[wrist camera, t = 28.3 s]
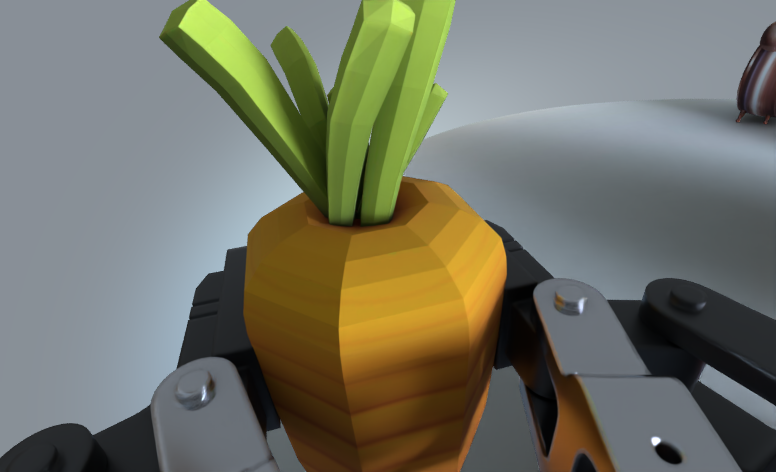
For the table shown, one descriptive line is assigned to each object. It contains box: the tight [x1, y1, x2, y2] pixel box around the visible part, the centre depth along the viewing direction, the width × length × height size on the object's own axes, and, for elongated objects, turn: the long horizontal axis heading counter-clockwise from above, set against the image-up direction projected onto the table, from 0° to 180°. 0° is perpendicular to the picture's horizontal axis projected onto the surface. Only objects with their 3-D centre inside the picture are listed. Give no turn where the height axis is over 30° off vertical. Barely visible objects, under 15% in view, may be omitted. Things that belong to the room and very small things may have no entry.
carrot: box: [159, 0, 507, 472], centre depth 9 cm, size 5×5×15 cm
